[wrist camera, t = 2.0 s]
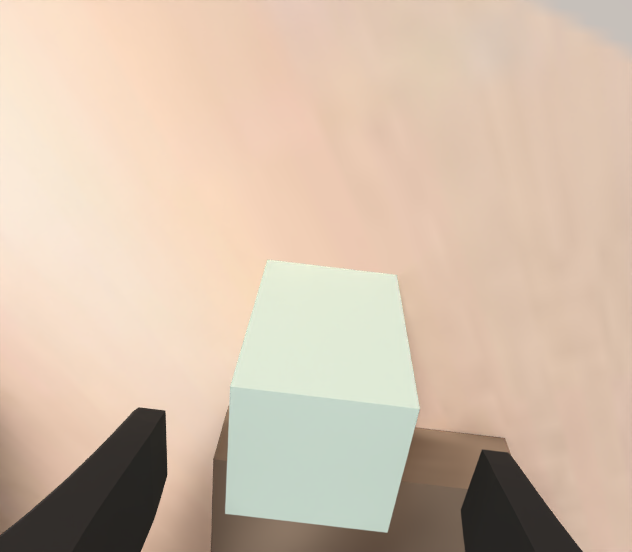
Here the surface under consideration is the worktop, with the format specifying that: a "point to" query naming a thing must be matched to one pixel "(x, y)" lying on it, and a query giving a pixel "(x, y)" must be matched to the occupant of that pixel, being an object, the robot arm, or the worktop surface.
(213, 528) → the base board
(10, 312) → the worktop surface
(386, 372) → the block
